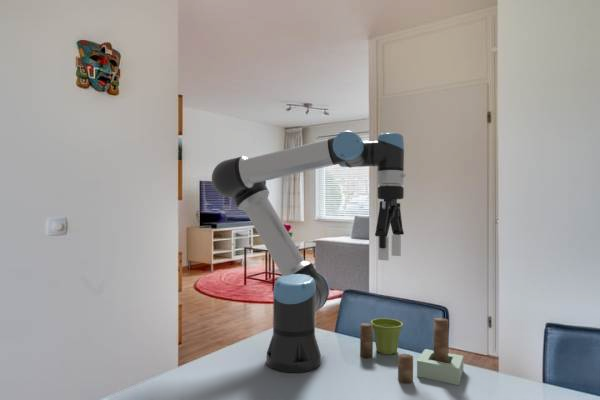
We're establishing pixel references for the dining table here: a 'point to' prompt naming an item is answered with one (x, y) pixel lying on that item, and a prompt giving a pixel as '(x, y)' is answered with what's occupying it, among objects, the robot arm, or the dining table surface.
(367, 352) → the peg medium
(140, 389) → the dining table surface
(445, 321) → the peg long
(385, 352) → the plant pot
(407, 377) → the peg short
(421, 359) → the hole block
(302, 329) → the robot arm
